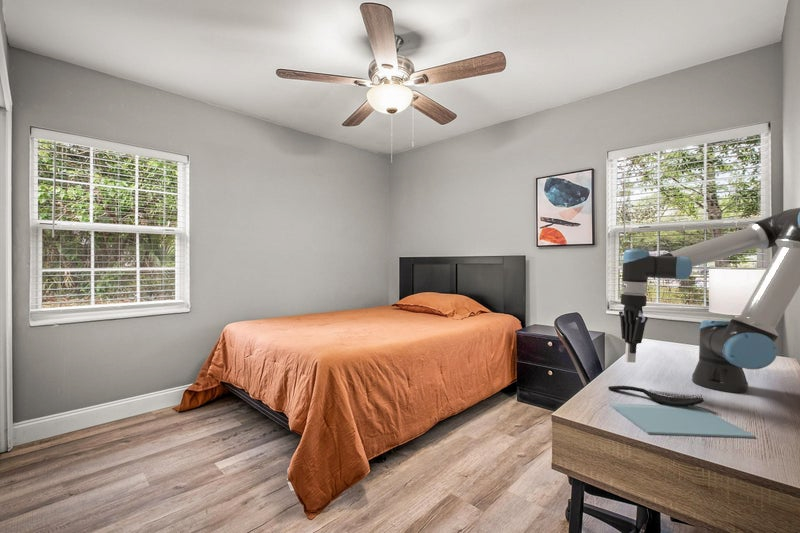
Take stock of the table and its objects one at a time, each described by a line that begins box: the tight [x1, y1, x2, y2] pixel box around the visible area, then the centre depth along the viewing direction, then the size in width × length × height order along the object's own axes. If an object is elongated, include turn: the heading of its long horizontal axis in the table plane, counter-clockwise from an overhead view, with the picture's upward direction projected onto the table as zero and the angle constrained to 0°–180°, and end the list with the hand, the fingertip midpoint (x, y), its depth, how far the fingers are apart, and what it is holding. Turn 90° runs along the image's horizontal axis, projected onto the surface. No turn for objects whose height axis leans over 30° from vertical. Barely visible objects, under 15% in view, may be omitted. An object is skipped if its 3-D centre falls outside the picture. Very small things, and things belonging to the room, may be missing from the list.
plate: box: [606, 402, 756, 439], centre depth 103 cm, size 26×20×1 cm
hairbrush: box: [608, 385, 705, 407], centre depth 117 cm, size 8×4×25 cm
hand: (630, 361), depth 129 cm, fingers closed
